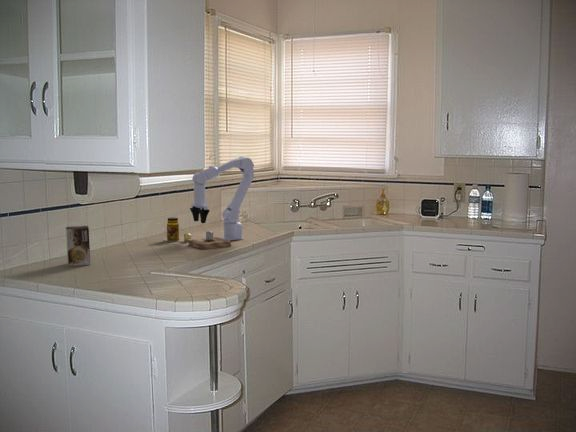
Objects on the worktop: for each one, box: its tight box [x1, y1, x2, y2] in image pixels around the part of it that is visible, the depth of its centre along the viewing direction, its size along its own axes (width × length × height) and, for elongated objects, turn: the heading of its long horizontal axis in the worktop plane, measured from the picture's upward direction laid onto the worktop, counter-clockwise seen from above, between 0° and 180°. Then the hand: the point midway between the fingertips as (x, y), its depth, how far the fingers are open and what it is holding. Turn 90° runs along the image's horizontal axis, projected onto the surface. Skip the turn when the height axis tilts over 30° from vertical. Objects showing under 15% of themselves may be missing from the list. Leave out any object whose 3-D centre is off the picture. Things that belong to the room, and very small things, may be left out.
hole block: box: [188, 236, 232, 250], centre depth 322 cm, size 16×14×2 cm
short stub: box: [183, 233, 192, 243], centre depth 332 cm, size 4×4×4 cm
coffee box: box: [65, 225, 91, 267], centre depth 275 cm, size 9×6×16 cm
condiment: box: [163, 216, 182, 243], centre depth 334 cm, size 7×8×12 cm
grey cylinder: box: [205, 230, 214, 242], centre depth 321 cm, size 4×4×7 cm
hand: (199, 222), depth 333 cm, fingers open, 7 cm apart
